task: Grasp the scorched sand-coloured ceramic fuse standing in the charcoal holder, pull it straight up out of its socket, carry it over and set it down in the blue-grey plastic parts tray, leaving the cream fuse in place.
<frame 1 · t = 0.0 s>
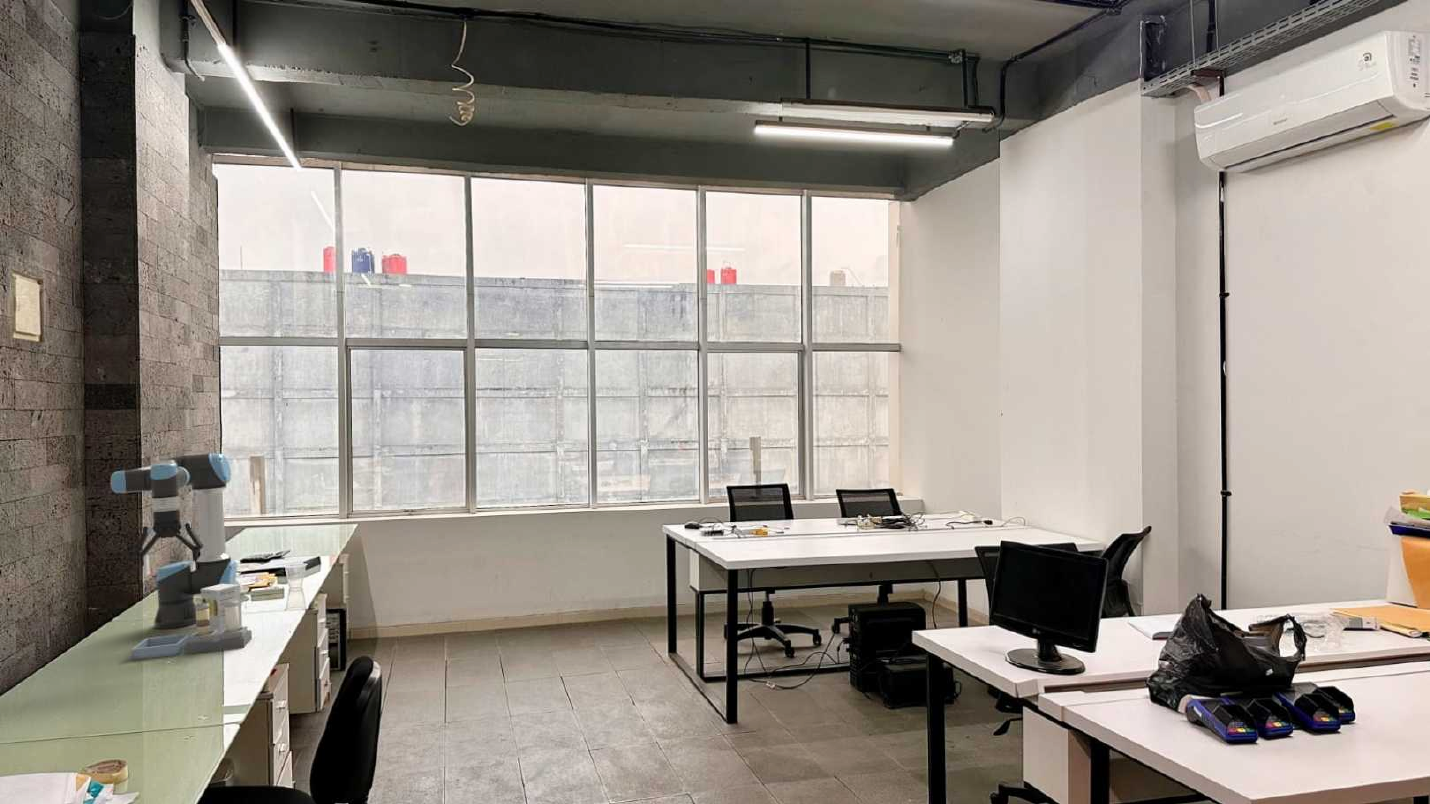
hand: (170, 573, 292), 28 cm above the table, fingers open, 13 cm apart
blown fuse: (204, 639, 301), point 3 cm above the table, touching fuse holder
parts tray: (162, 651, 299), on the table
fuse holder: (219, 646, 302), on the table
supplement box: (222, 632, 321), on the table
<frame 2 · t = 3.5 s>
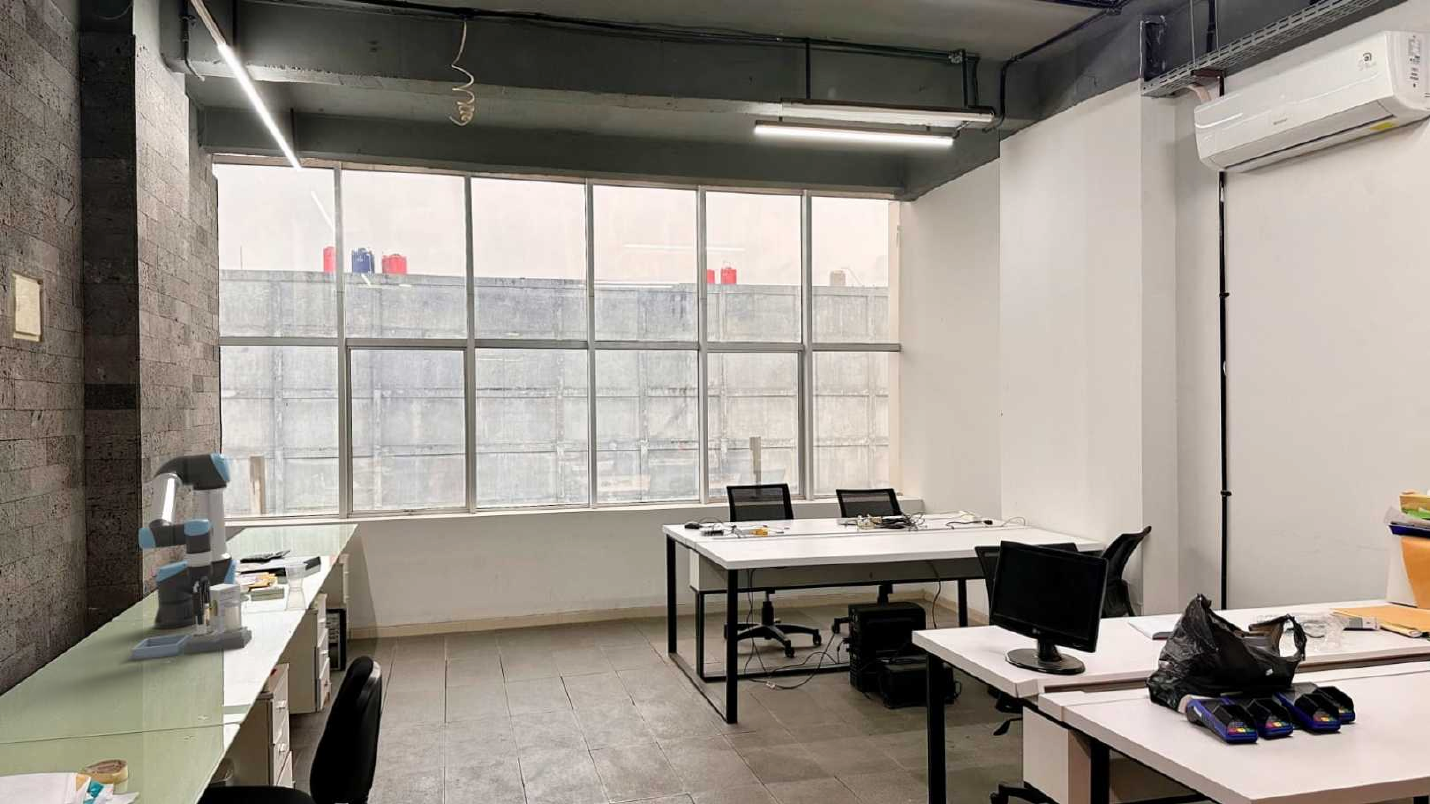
hand: (203, 631, 301), 6 cm above the table, fingers closed on blown fuse, 4 cm apart
blown fuse: (204, 639, 301), point 3 cm above the table, touching fuse holder, gripper
everything else where it was.
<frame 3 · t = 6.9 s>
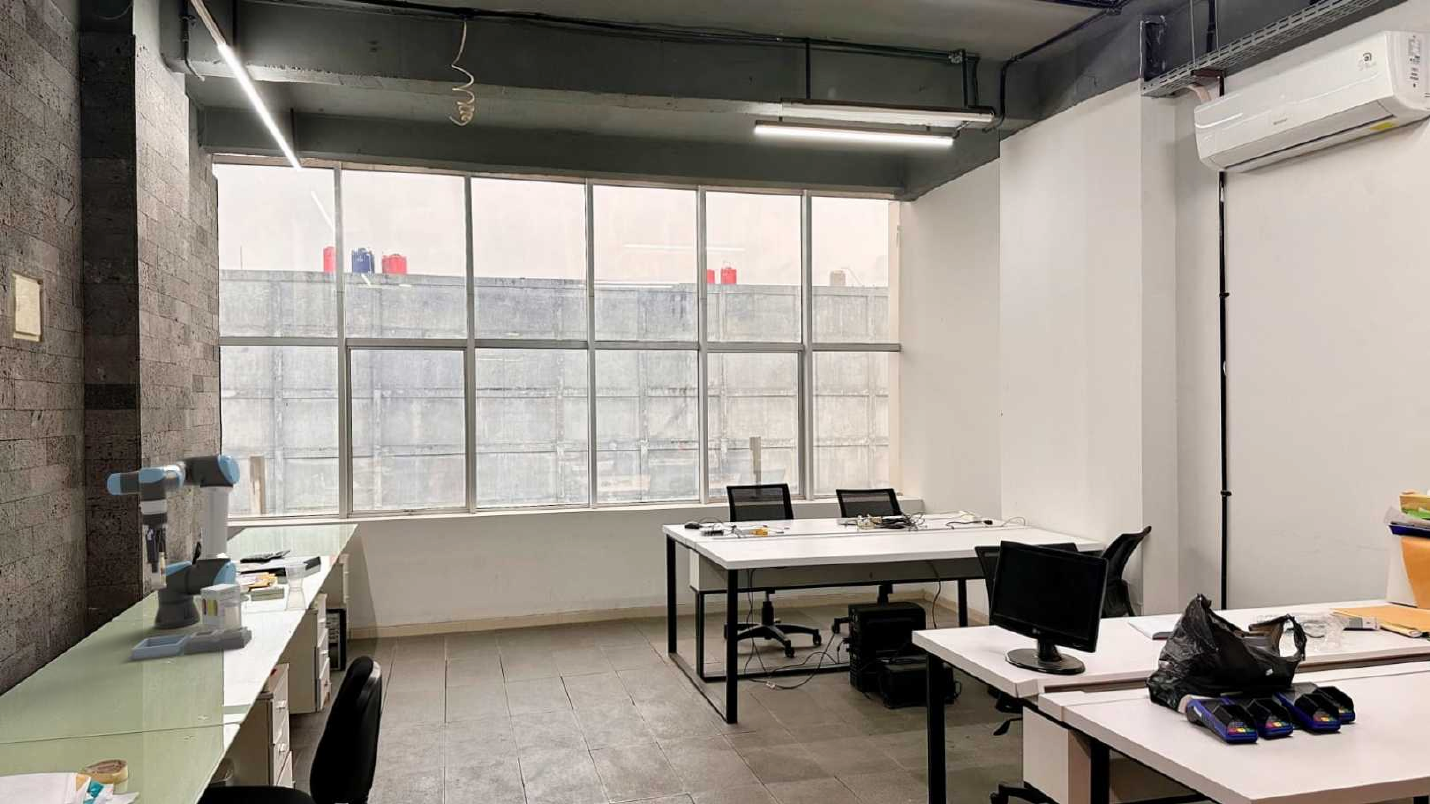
hand: (158, 580, 299), 24 cm above the table, fingers closed on blown fuse, 4 cm apart
blown fuse: (159, 588, 299), point 22 cm above the table, touching gripper
everything else where it was.
when the fingers open (4 cm above the table, at t = 10.7 s): blown fuse stays where it is, resting on parts tray.
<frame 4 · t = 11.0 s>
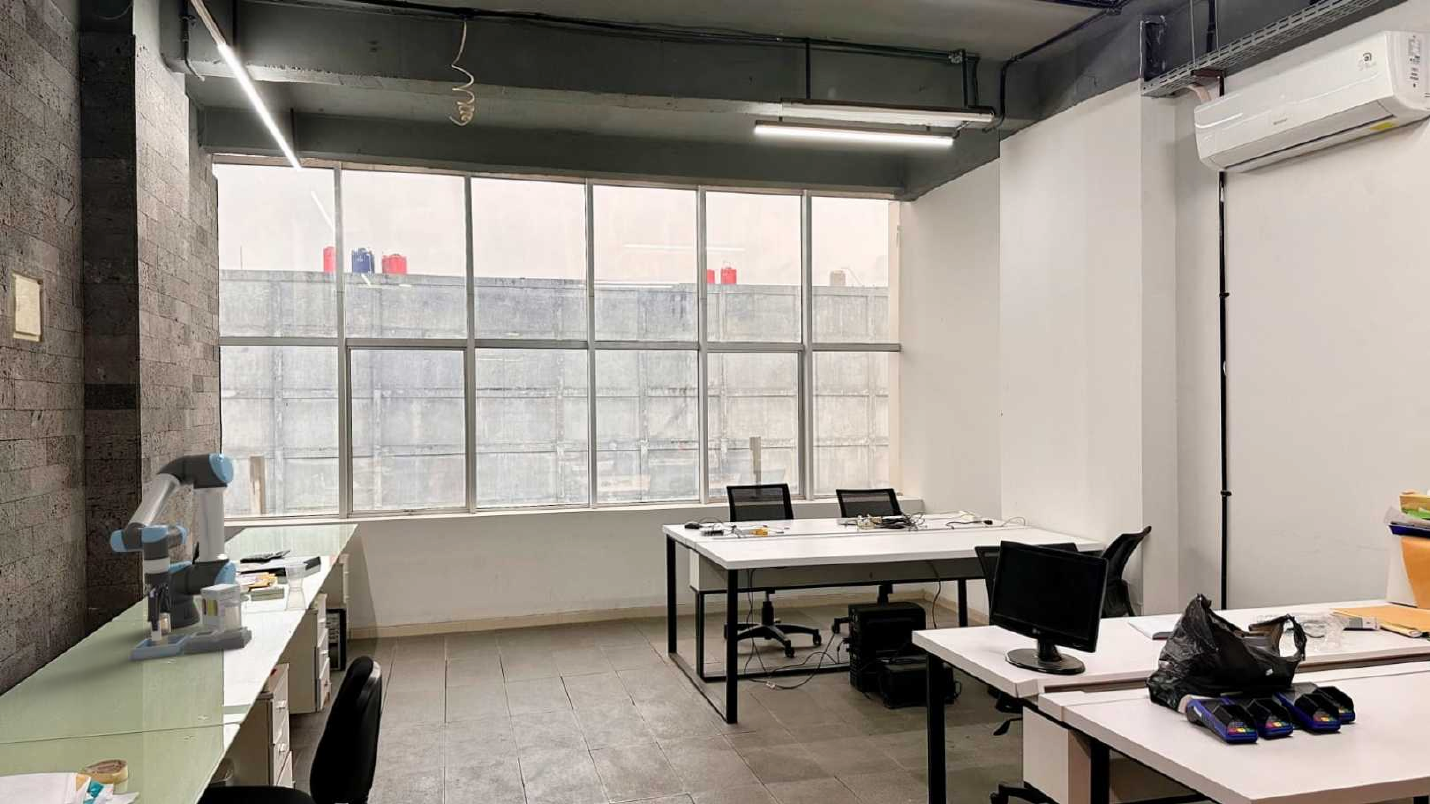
hand: (161, 636, 299), 5 cm above the table, fingers open, 9 cm apart
blown fuse: (162, 648, 299), point 1 cm above the table, touching parts tray
everything else where it was.
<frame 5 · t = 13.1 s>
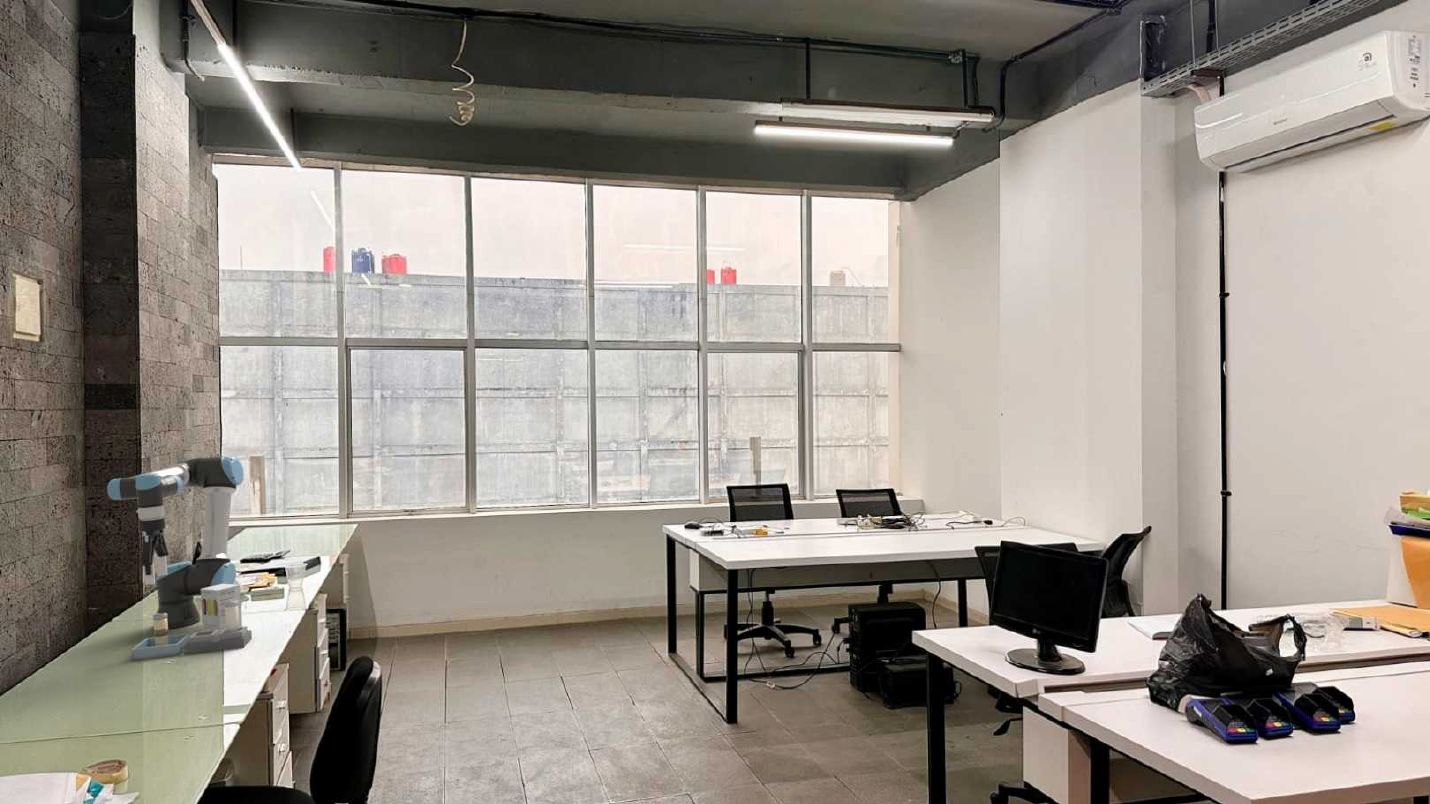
hand: (156, 579, 301), 24 cm above the table, fingers open, 13 cm apart
nothing on the table moved.
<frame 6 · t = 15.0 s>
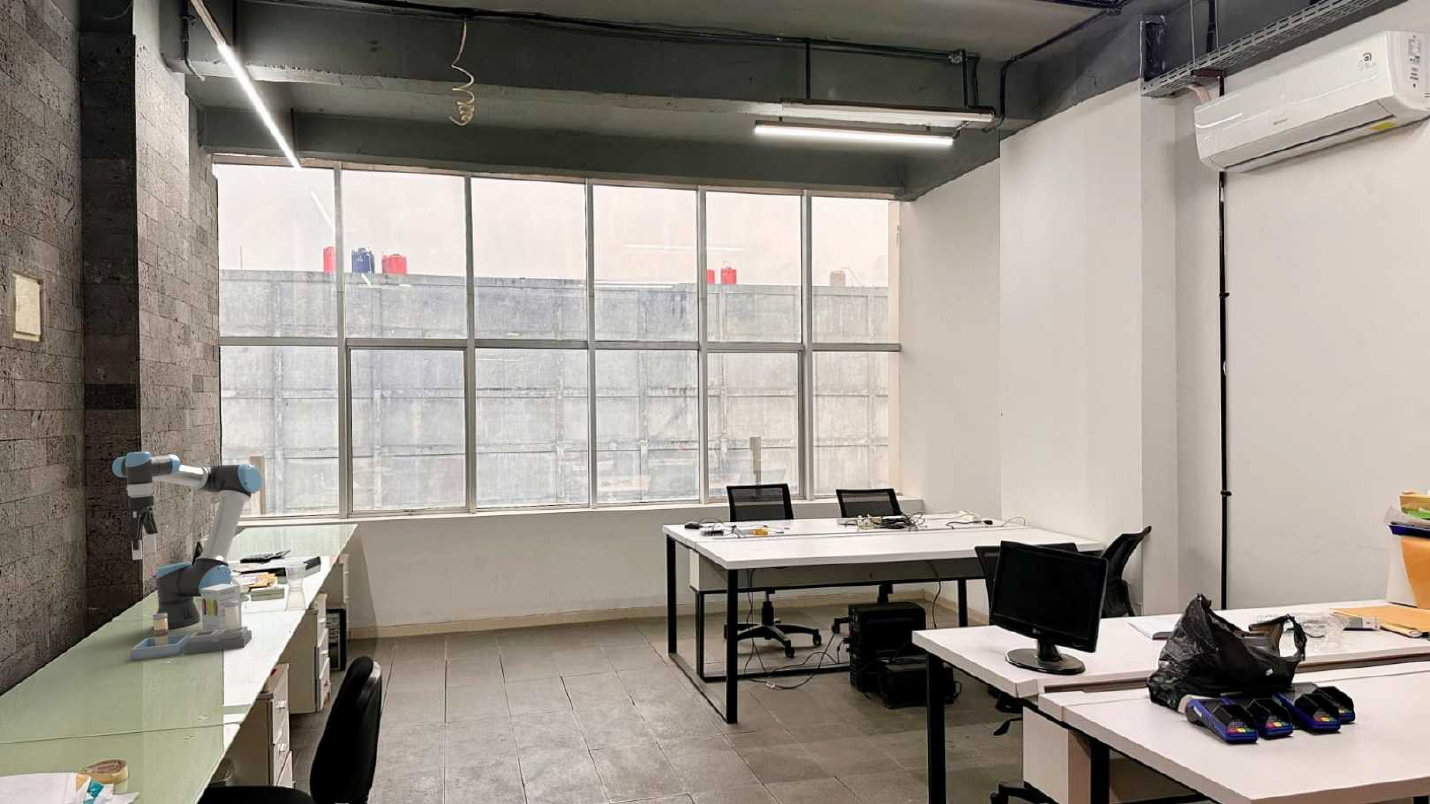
hand: (144, 555, 307), 32 cm above the table, fingers open, 13 cm apart
nothing on the table moved.
at the end: blown fuse inside the target area on the parts tray (0.0 cm from its centre), point 0.8 cm above the parts tray's base; blown fuse inside the target area on the table beside the fuse holder (36.6 cm from its centre), point 0.8 cm above the table; the gripper is holding nothing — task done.
